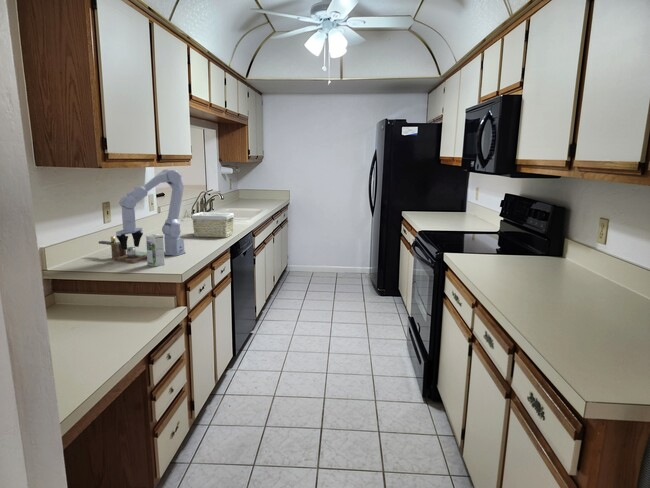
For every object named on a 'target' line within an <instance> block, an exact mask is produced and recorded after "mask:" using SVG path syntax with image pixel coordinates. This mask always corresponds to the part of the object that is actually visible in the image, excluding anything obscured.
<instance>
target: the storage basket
mask: <svg viewBox="0 0 650 488" xmlns="http://www.w3.org/2000/svg"><path fill="white" fill-rule="evenodd" d="M234 217H235V214H234V212H214V211H213V212H212V211H211V212H210V211H208V212H207V211H200V212H196V213H194V214H191V220H192V227H193V234H194V235H193V236H194V237H195V238H196V237H197V238H228V237H231V236H232V235H233V232H234Z"/></svg>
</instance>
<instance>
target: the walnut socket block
mask: <svg viewBox="0 0 650 488" xmlns="http://www.w3.org/2000/svg"><path fill="white" fill-rule="evenodd" d="M118 243H120V242H119V241H118ZM110 246H111V247H110V248H111V249H110V250H111V258H112V260H114V261H116V262H124V263H130V264H134V263H138V262H141V261H145V260H147V255H145V256H142V255H136V258H133V259H129V258H127V255H126V254H127V250H123V249H122V246H119V244H113V243H112V244H111V245H110Z"/></svg>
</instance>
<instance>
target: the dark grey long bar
mask: <svg viewBox="0 0 650 488" xmlns="http://www.w3.org/2000/svg"><path fill="white" fill-rule="evenodd" d="M118 242H119V241H118ZM118 242H117V241H116V236H114V235H113V236H110V241H107V240H100V241H98V244H99V245H100V244H101V245H108V246H111V244H112V243H113V244H119V246H121V244H120V243H118Z"/></svg>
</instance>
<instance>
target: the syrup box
mask: <svg viewBox="0 0 650 488" xmlns="http://www.w3.org/2000/svg"><path fill="white" fill-rule="evenodd" d="M145 240H146V243H145V244H146V252H147V255H146V256H147V259H146V260H147V262H146V263H147V264H146V265H148V266H151V267H160V266H163V265H165V254H164V252H165V241H164V234H163V235H162V234H158V233H151V234H147V235H145Z"/></svg>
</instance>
